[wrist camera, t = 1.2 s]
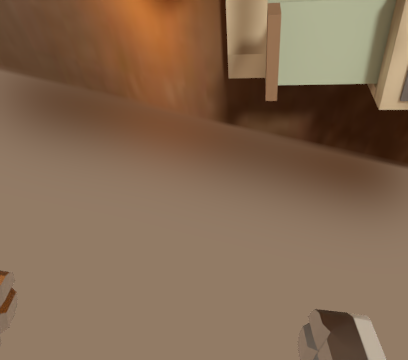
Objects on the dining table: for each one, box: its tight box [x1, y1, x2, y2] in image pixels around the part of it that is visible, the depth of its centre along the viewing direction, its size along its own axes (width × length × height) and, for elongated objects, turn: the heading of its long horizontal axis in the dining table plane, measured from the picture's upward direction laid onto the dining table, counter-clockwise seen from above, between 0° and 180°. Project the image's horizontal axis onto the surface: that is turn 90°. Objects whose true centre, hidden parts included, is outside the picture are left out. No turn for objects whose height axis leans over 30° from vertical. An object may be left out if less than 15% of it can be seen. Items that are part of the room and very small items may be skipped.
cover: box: [265, 0, 396, 101], centre depth 33 cm, size 14×7×4 cm, turn 94°
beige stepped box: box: [226, 0, 408, 110], centre depth 35 cm, size 25×12×11 cm, turn 94°
